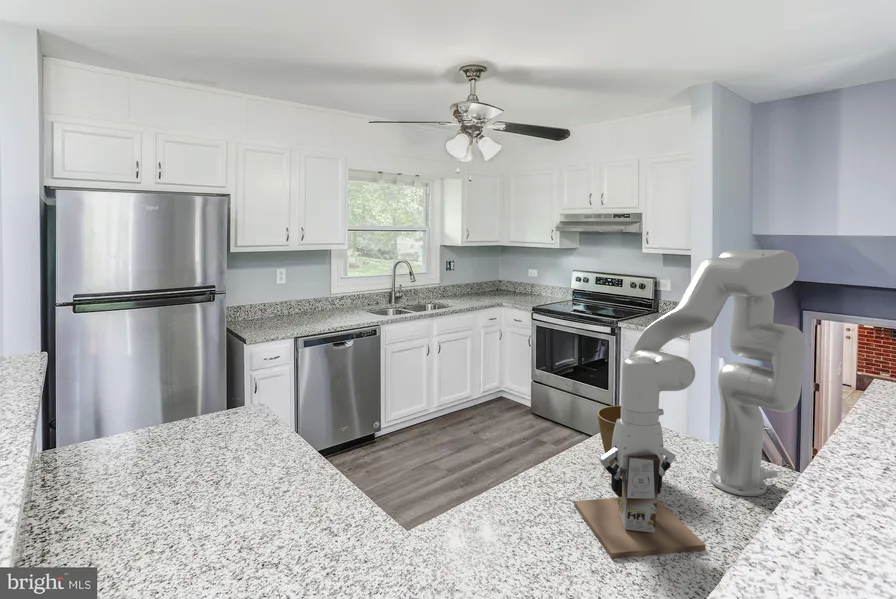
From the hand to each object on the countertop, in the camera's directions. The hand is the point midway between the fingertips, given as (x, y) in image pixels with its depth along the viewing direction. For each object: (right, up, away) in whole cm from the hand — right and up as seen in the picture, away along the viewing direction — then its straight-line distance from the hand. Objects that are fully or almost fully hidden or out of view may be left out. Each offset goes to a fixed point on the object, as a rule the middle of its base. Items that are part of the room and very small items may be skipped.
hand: (636, 491), depth 110 cm
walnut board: (0, -8, +1) cm, 8 cm away
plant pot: (+7, -5, +27) cm, 28 cm away
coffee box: (0, -7, +1) cm, 7 cm away
